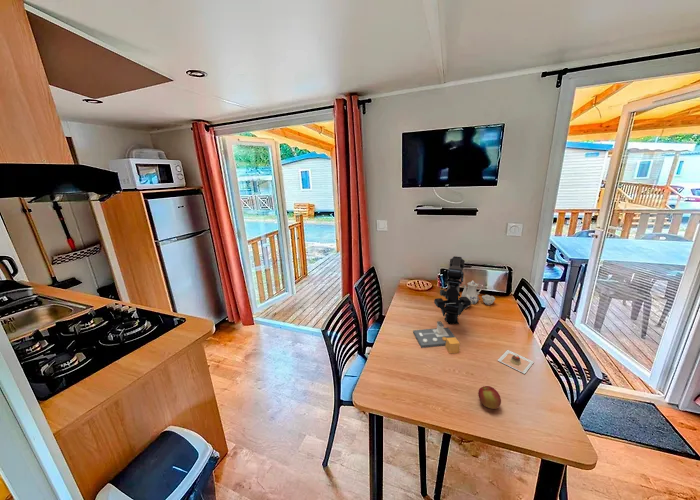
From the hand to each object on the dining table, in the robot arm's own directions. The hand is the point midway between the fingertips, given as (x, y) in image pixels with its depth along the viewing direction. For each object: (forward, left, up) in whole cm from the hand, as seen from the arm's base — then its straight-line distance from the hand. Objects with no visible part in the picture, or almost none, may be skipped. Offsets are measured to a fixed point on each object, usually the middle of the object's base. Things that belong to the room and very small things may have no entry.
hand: (451, 315), depth 149 cm
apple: (+6, +48, -12) cm, 50 cm away
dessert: (-21, +26, -13) cm, 36 cm away
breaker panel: (+10, +3, -12) cm, 16 cm away
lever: (+6, 0, -10) cm, 12 cm away
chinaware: (-32, -32, -12) cm, 47 cm away
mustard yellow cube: (+5, +14, -12) cm, 19 cm away
